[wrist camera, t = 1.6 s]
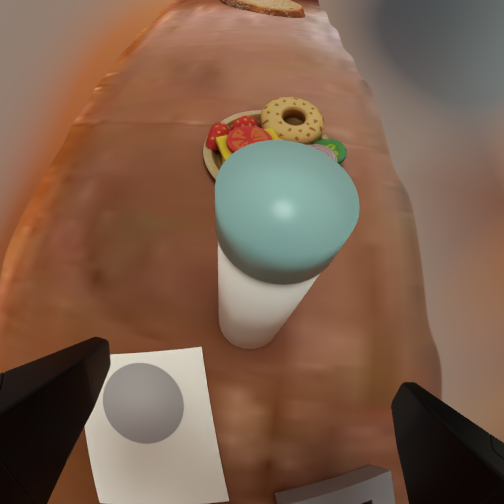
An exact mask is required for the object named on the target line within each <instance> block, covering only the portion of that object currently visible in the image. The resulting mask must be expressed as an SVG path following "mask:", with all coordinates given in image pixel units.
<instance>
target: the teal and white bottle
mask: <svg viewBox="0 0 504 504" xmlns="http://www.w3.org/2000/svg"><path fill="white" fill-rule="evenodd" d="M359 209H360V207H359V198H358V193H357V190H356V188H355V185H354V184H353V182H352V180H351V178H350V177H349V175H348V174H347V172H346V171H345V170H344V169H343V168H342V167H341V166H340V165H339V164H338V163H337V162H336V161H335V160H333V159H332V158H331V157H329V156H328V155H326V154H325V153H323V152H321V151H319V150H317V149H315V148H313V147H311V146H308V145H305V144H302V143H298V142H293V141H287V140H266V141H260V142H256V143H252V144H249V145H247V146H245V147H242V148H241V149H239V150H237V151H236V152H234V153H233V154H232V155H230V156H229V157H228V158H227V159H226V161H225V162H224V163H223V165H222V166H221V168H220V170H219V172H218V175H217V178H216V183H215V230H216V236H217V240H218V300H219V326H220V329H221V332H222V334H223V335H224V337H225V338H226V339H227V340H228V341H229V342H230V343H231V344H233V345H234V346H237V347H239V348H242V349H257V348H260V347H263V346H265V345H266V344H268V343H269V342H270V341H271V340H272V339H273V338H274V337H275V335H276V334H277V333H278V331H279V330H280V329H281V327H282V326H283V325H284V323H285V322H286V320H287V319H288V318H289V316H290V315H291V314H292V312H293V311H294V309H295V308H296V307H297V305H298V304H299V303H300V301H301V300H302V298H303V297H304V296H305V294H306V293H307V291H308V290H309V288H310V287H311V286H312V284H313V283H314V281H315V280H316V278H317V277H318V276H319V274H320V273H321V272H323V271H324V270H325V269H326V268H327V267H328V266H329V264H330V263H331V262H332V260H333V259H334V257H335V256H336V254H337V253H338V252H339V250H340V249H341V247H342V246H343V244H344V243H345V241H346V240H347V238H348V237H349V235H350V234H351V232H352V231H353V229H354V227H355V225H356V223H357V220H358V216H359Z"/></svg>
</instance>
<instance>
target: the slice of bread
mask: <svg viewBox="0 0 504 504" xmlns="http://www.w3.org/2000/svg"><path fill="white" fill-rule="evenodd" d="M221 1H222V2H223V3H224V4H226V5H228V6H231V7H235V8H239V9H242V10H248V11H252V12H256V13H262V14H267V15H273V16H281V17H291V18H303V17H305V14H304V10H303V8H302V6H301V5H299V4H297V3H295V2H293V1H290V0H221Z"/></svg>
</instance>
